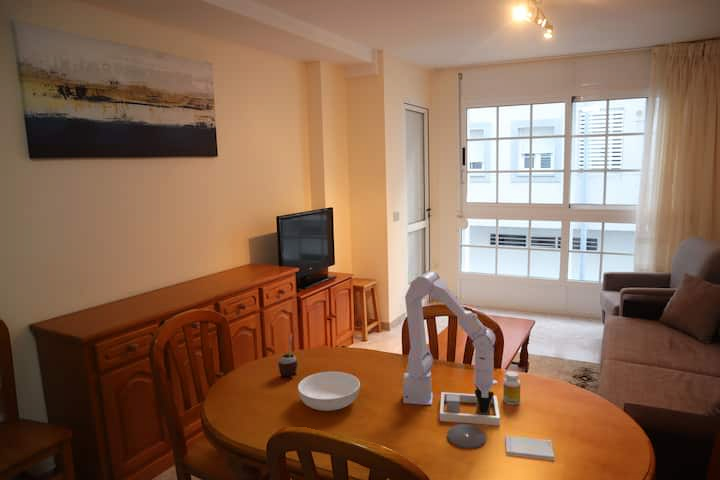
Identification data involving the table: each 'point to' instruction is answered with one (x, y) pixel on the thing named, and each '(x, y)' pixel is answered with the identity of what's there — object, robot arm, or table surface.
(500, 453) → the table surface
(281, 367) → the mate gourd
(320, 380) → the serving bowl
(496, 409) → the white rectangular frame
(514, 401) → the supplement bottle
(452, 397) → the plain grey box
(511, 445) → the hard drive
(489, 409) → the labelled walnut box
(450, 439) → the slate pad
